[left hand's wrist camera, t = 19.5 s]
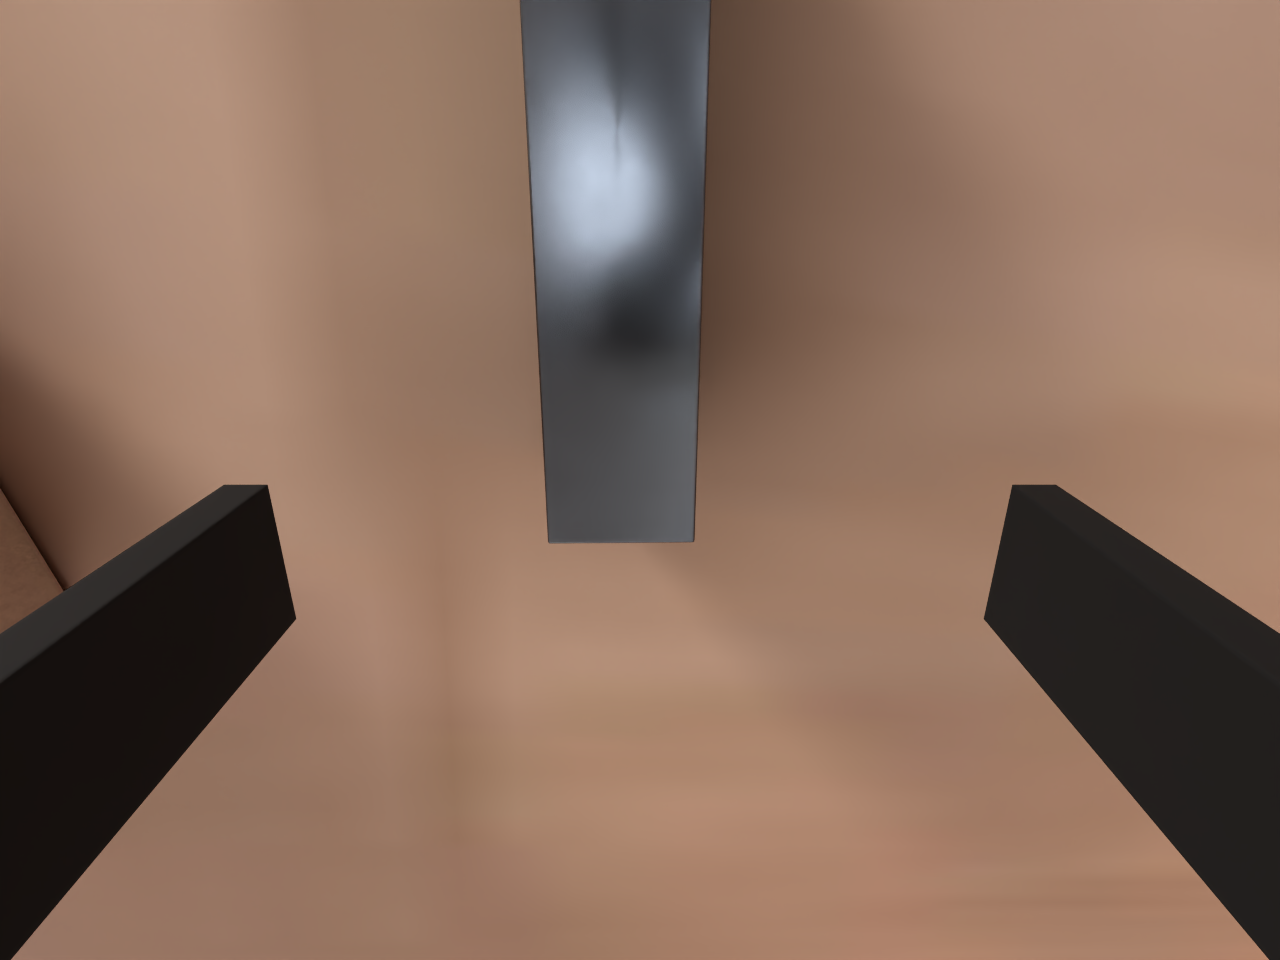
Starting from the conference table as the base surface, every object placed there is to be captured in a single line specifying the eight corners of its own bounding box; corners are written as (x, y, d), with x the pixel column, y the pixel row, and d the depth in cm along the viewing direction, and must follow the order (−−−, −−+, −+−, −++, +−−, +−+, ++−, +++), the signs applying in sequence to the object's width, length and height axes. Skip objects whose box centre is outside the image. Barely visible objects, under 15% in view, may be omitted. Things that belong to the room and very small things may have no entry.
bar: (676, 459, 30) (694, 542, 22) (567, 460, 30) (548, 544, 22) (691, -267, 22) (728, -536, 14) (539, -269, 22) (491, -541, 14)
